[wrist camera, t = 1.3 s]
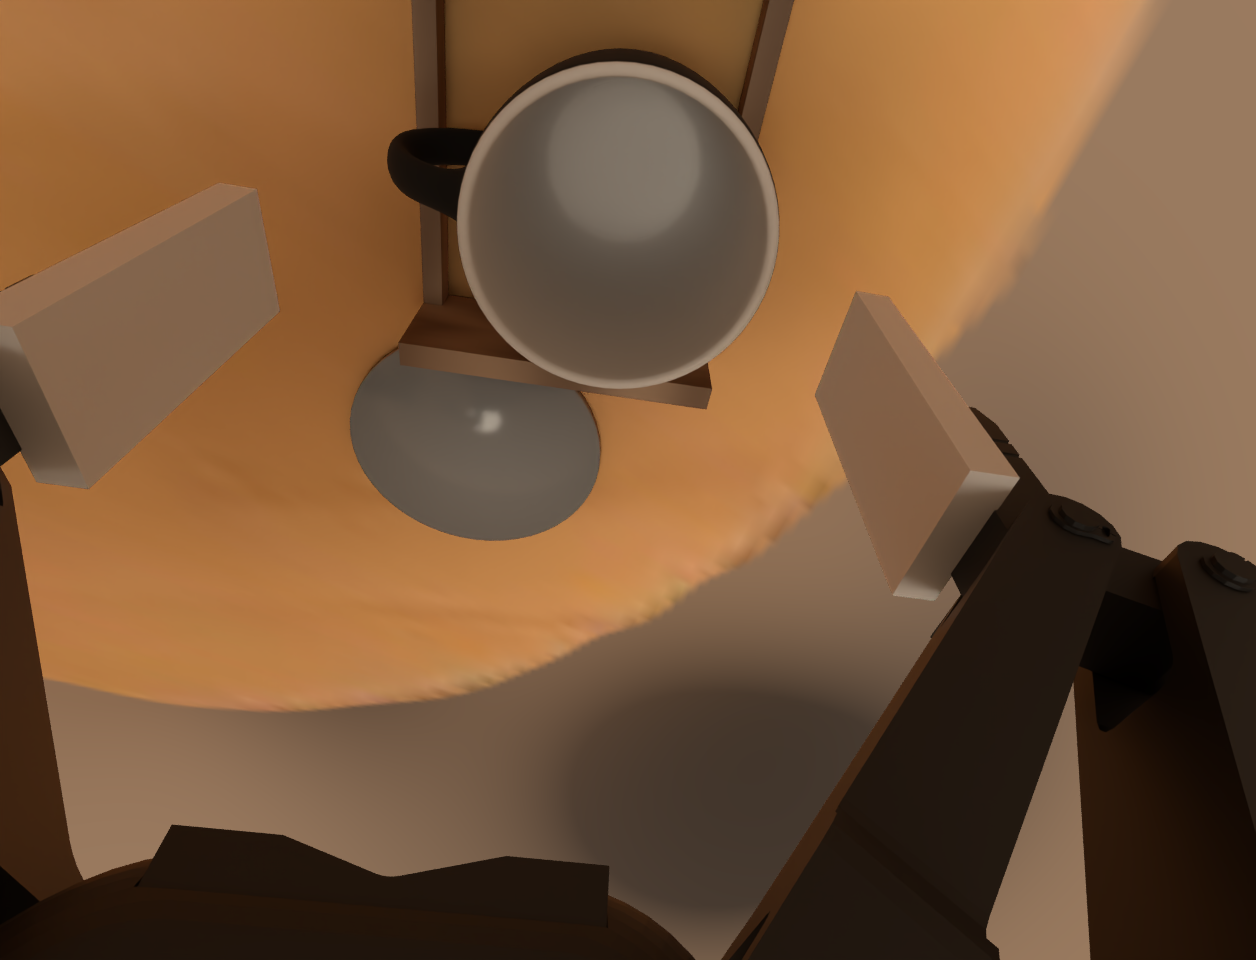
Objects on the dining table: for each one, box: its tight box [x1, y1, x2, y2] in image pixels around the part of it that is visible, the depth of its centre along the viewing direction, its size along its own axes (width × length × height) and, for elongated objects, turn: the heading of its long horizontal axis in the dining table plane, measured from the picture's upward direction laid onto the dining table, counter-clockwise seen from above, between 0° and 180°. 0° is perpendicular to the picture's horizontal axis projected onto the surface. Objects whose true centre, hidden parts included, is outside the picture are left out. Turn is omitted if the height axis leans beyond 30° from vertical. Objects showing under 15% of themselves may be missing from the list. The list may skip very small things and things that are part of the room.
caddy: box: [399, 0, 794, 409], centre depth 24 cm, size 13×16×5 cm
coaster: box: [350, 347, 600, 541], centre depth 34 cm, size 13×13×1 cm
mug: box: [387, 48, 779, 389], centre depth 22 cm, size 12×9×10 cm
